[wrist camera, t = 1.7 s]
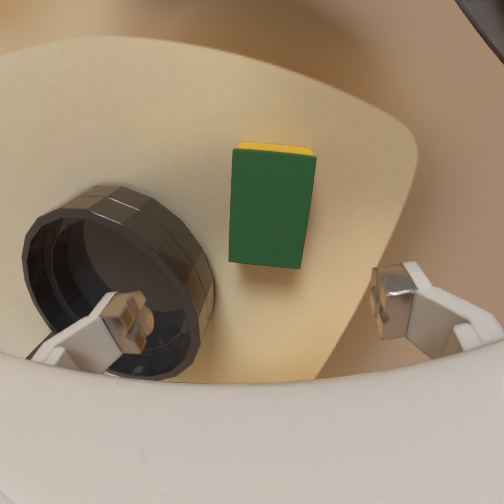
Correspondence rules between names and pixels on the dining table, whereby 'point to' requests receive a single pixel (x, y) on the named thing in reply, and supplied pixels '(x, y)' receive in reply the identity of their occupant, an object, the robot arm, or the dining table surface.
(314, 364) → the dining table surface
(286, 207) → the sponge
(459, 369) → the robot arm
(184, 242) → the bowl
